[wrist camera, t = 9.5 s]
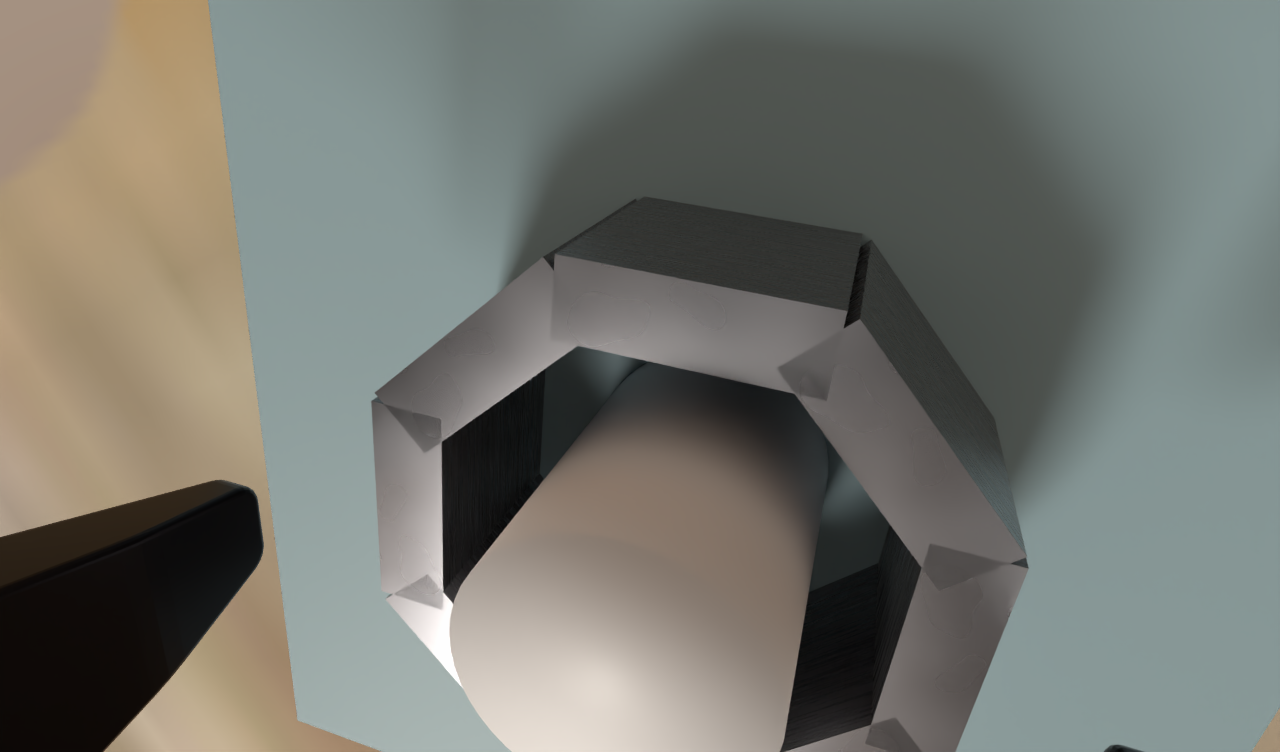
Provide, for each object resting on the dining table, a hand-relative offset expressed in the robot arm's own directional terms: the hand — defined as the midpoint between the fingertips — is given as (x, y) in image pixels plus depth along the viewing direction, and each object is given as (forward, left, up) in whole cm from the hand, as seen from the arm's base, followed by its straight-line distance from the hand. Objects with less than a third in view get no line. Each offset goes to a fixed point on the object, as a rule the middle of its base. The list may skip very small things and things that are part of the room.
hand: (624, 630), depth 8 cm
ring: (0, 0, -4) cm, 4 cm away
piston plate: (0, 0, -5) cm, 5 cm away
